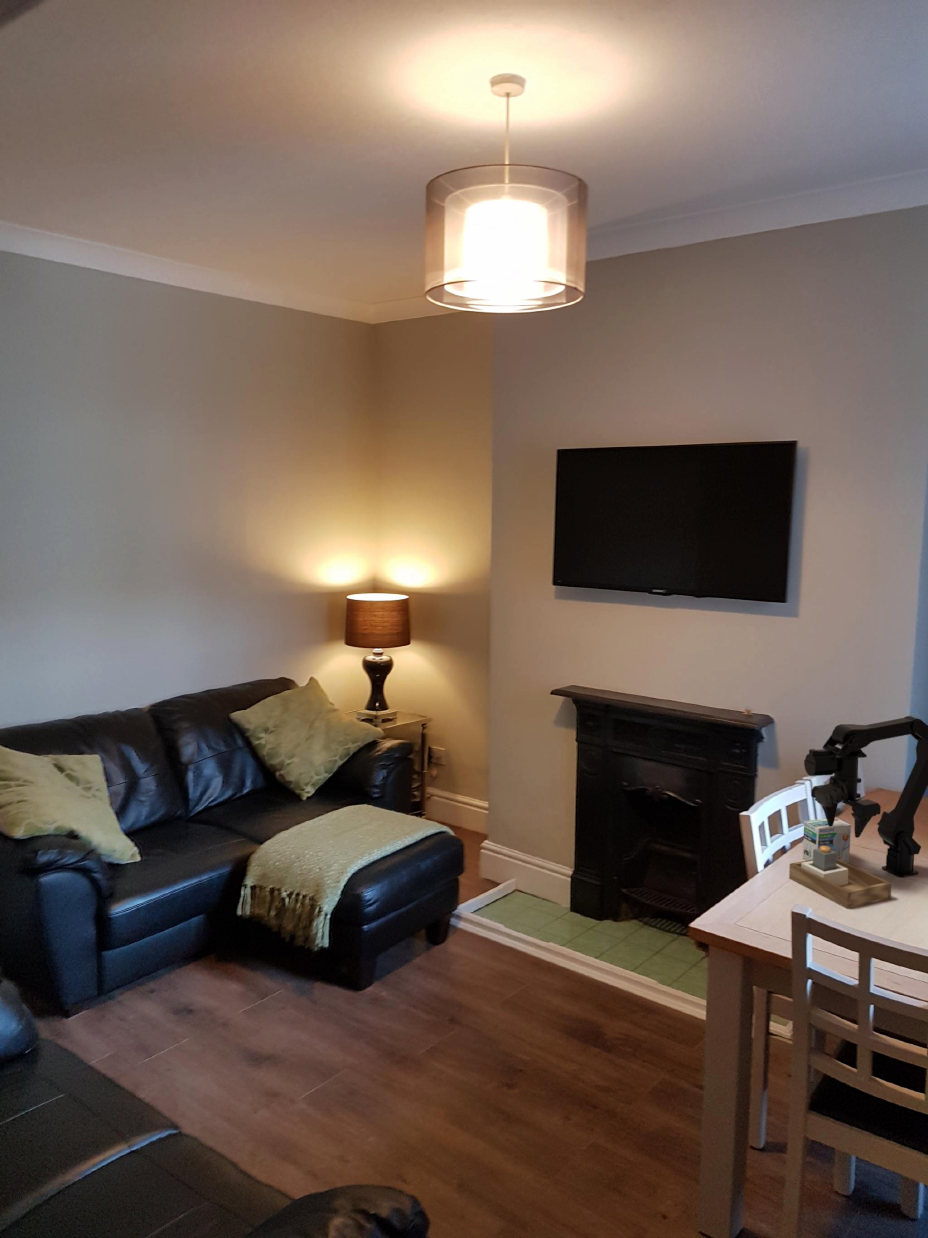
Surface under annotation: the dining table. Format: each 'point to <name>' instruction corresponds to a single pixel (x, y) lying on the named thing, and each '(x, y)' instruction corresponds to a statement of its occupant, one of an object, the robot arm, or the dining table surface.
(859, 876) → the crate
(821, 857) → the block
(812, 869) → the inlet socket
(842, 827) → the light bulb box
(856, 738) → the robot arm
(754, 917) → the dining table surface
